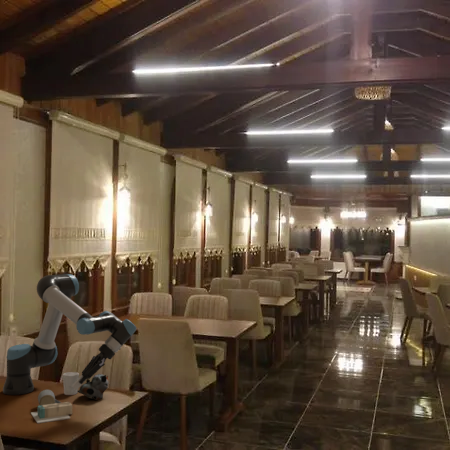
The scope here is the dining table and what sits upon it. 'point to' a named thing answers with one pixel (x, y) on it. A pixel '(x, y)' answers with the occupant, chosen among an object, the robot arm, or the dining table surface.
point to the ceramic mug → (47, 398)
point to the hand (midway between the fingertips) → (74, 388)
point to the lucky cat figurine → (95, 387)
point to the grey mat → (49, 419)
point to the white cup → (70, 382)
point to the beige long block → (54, 410)
